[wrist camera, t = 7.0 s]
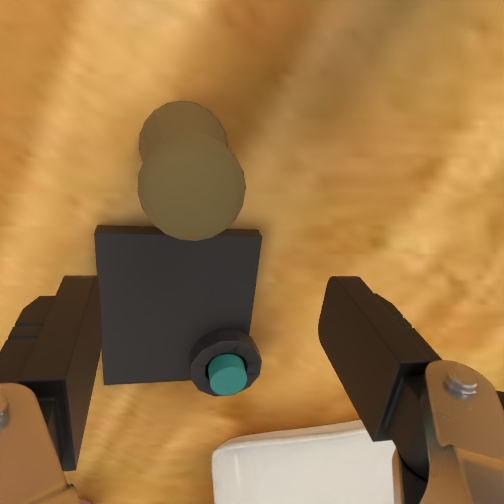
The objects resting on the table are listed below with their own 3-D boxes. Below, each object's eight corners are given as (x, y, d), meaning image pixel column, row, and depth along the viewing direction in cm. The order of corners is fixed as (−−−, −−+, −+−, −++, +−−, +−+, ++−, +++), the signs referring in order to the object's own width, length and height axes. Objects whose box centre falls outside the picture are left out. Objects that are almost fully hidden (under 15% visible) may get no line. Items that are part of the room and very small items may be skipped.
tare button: (209, 353, 33) (211, 368, 31) (245, 352, 34) (249, 366, 32) (207, 381, 34) (209, 397, 33) (241, 379, 35) (245, 394, 33)
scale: (97, 225, 29) (90, 242, 27) (270, 229, 32) (279, 246, 29) (106, 377, 35) (101, 404, 33) (250, 370, 38) (256, 393, 36)
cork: (238, 172, 29) (275, 233, 20) (160, 201, 29) (159, 276, 20) (210, 87, 27) (236, 110, 17) (123, 119, 26) (100, 160, 17)
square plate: (403, 529, 57) (419, 559, 54) (211, 568, 52) (214, 604, 49) (452, 387, 45) (476, 414, 42) (207, 419, 40) (212, 454, 37)
